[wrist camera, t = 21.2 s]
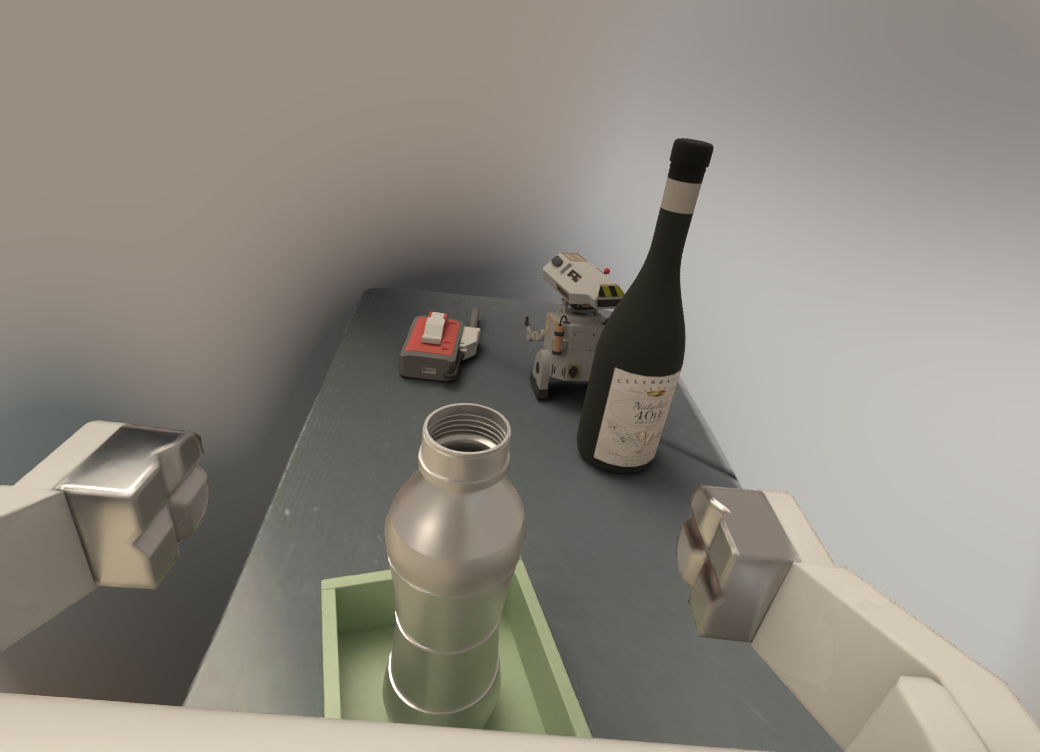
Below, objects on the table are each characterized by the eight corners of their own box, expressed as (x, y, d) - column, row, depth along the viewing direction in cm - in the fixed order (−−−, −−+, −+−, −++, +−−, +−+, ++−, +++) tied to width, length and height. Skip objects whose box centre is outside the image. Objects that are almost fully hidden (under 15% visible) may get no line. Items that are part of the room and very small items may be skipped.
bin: (582, 814, 30) (602, 760, 28) (331, 894, 26) (327, 840, 24) (509, 602, 41) (518, 549, 39) (324, 635, 37) (321, 579, 35)
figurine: (585, 360, 76) (608, 250, 69) (614, 408, 66) (644, 286, 59) (518, 359, 74) (534, 245, 67) (537, 408, 64) (559, 282, 57)
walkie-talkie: (471, 391, 66) (482, 319, 83) (474, 357, 64) (485, 290, 81) (393, 382, 65) (422, 312, 83) (394, 347, 63) (423, 283, 80)
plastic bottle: (517, 693, 35) (574, 421, 25) (448, 798, 30) (486, 506, 20) (432, 637, 37) (454, 369, 27) (356, 724, 32) (349, 432, 22)
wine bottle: (667, 473, 57) (771, 155, 42) (596, 483, 54) (680, 146, 39) (628, 427, 63) (706, 136, 49) (562, 433, 61) (624, 127, 46)
